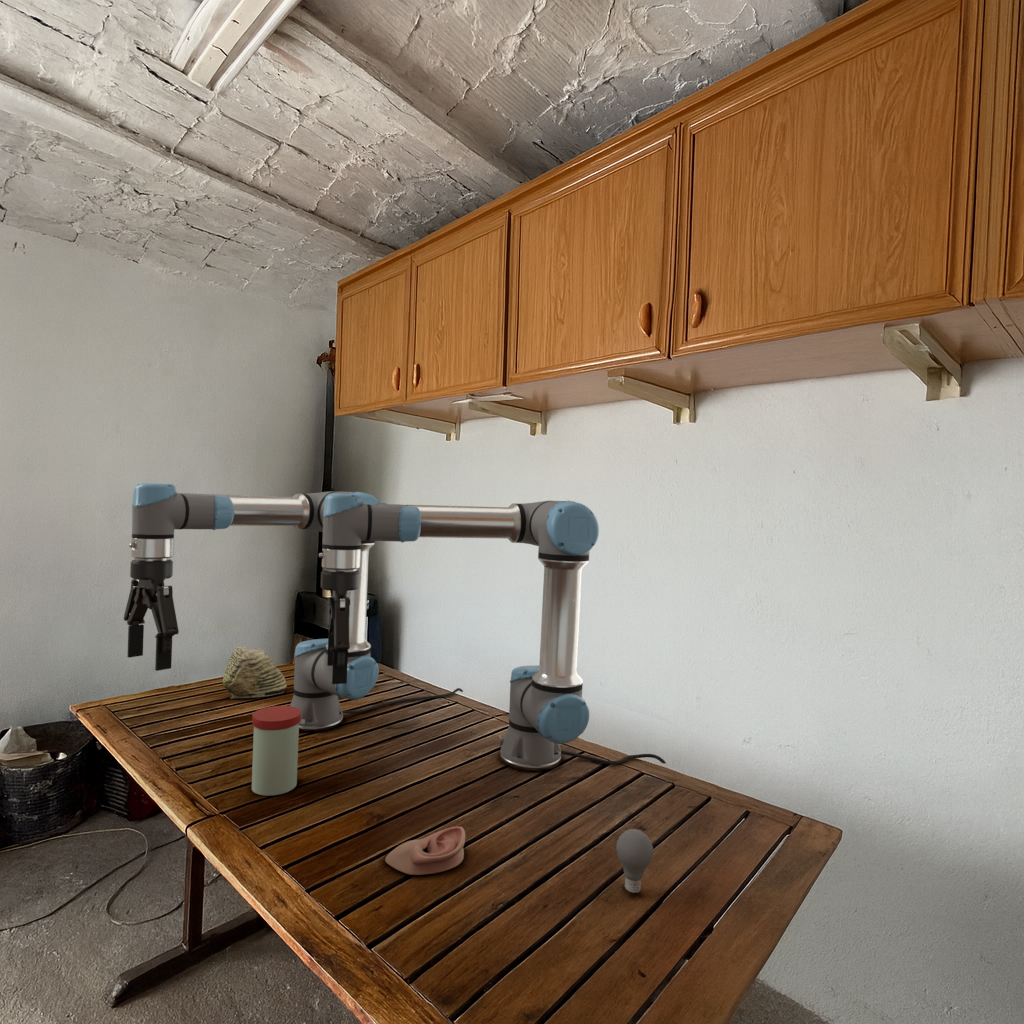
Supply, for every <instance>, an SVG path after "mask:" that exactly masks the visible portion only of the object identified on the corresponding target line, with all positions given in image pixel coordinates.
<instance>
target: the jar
mask: <svg viewBox="0 0 1024 1024" xmlns="http://www.w3.org/2000/svg"><path fill="white" fill-rule="evenodd" d="M299 733H300V731H299V723H298V724H297V725H295V726H292V727H289V728H285V729H278V730H265V729H259V728H256V727H254V726H253V737H252V738H253V740H252V744H253V745H252V765H251V791H252V792H253V793H254V794H256V795H260V796H267V797H269V796H277V795H278V796H279V795H283V794H286V793H289V792H290V791H293V790H295V788H296V787H297V783H298V766H299V765H298V763H299V735H300V734H299Z"/></svg>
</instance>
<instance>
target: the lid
mask: <svg viewBox="0 0 1024 1024" xmlns="http://www.w3.org/2000/svg"><path fill="white" fill-rule="evenodd" d="M251 717H252V718H251V725H252V726H253V728H254V727H256V728H259V729H265V730H278V729H285V728H289V727H292V726H295V725H297V724H298V723H300V721H301V710H300V709H298V708H296V707H291V706H290V705H274V706H267V707H263V708H260V709H258V710H255V711H254V712H253V713H252V716H251Z"/></svg>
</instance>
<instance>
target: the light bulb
mask: <svg viewBox="0 0 1024 1024" xmlns="http://www.w3.org/2000/svg"><path fill="white" fill-rule="evenodd" d="M615 849H616V854H617V857H618V859H619V861H620V863H621V865H622V867H623V873H624V874H623V875H624V876H625V878H624V888H625V890H627V891H628V892H630V893H634V894H635V893H639V892H640V891H641V889H642V887H641V886H642V879H643V877H644V875H645V871H646V868H647V867H648V866H649V864H650V863H651V861H652V859H653V855H654V847H653V843H652V841H651V838H649V836H648V835H647V834H646V833H645V832H643V831H642V830H641V829H636V828H629V829H627V830H625V831H623V832H622V833H621V834H620V835H619V837H618V839H617V841H616V847H615Z"/></svg>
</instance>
